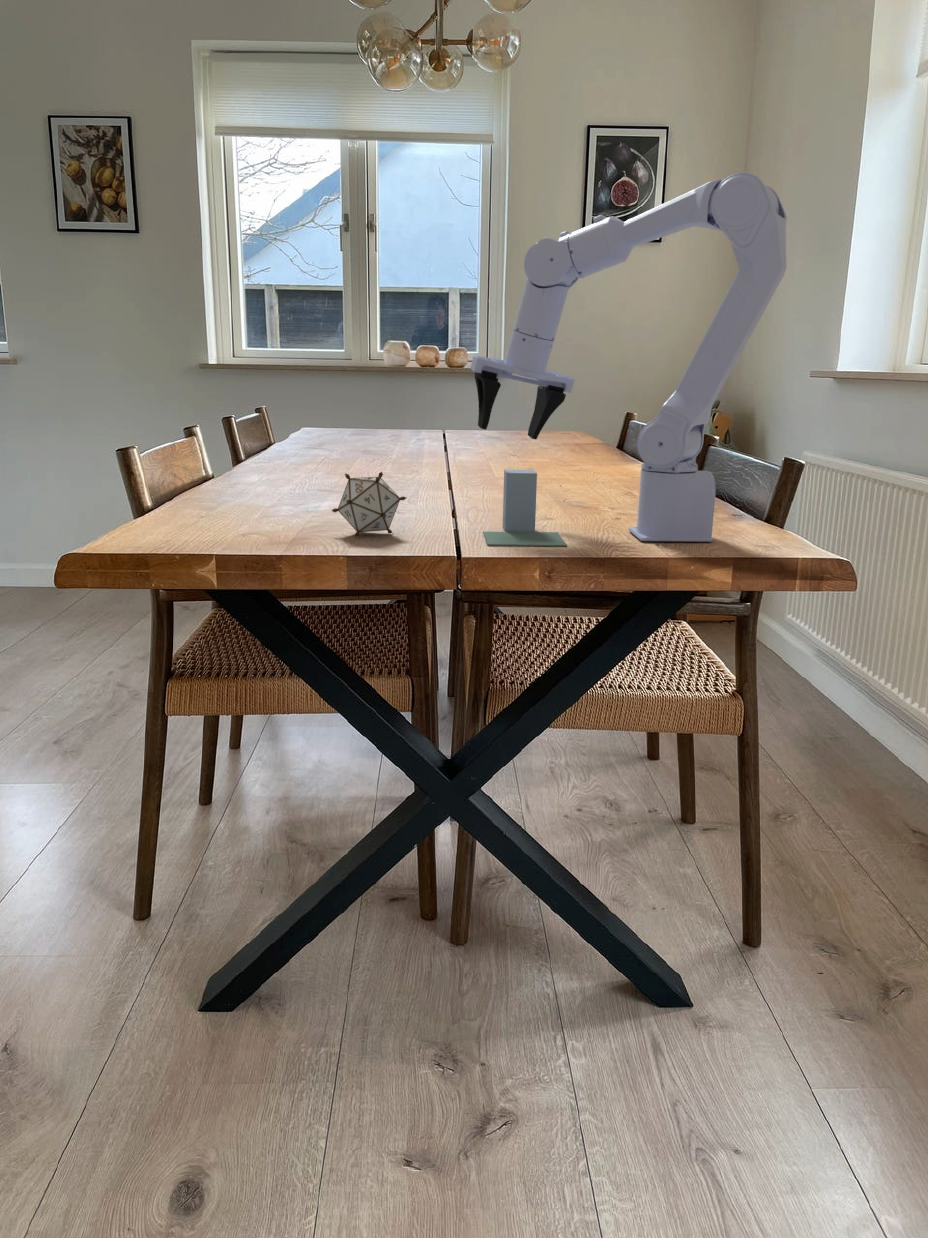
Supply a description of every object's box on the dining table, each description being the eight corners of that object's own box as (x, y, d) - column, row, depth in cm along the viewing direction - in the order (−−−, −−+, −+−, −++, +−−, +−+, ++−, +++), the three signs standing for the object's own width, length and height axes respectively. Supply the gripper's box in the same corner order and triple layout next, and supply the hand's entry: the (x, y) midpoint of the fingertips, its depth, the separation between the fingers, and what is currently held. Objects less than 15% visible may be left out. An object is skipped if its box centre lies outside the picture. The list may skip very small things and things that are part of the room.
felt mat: (557, 533, 126) (557, 532, 126) (567, 546, 118) (567, 544, 118) (482, 532, 126) (482, 531, 126) (487, 545, 117) (487, 544, 117)
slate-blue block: (531, 527, 130) (533, 469, 128) (534, 533, 126) (537, 473, 124) (502, 527, 130) (504, 469, 128) (505, 532, 126) (506, 472, 124)
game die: (381, 564, 123) (402, 510, 116) (319, 540, 122) (336, 484, 115) (397, 521, 130) (418, 467, 122) (338, 498, 129) (356, 443, 121)
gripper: (571, 340, 133) (544, 434, 138) (475, 318, 128) (451, 415, 133) (590, 350, 127) (561, 447, 132) (490, 326, 122) (464, 428, 127)
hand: (507, 432), depth 132 cm, fingers open, 7 cm apart
